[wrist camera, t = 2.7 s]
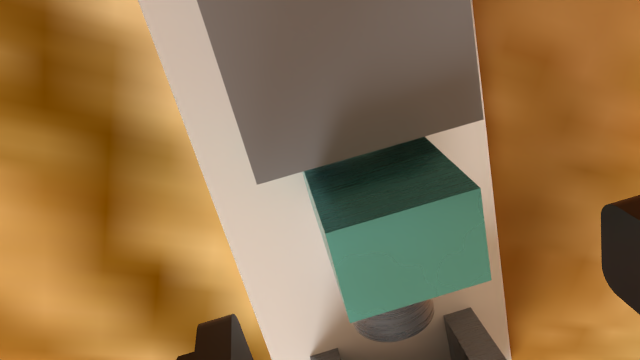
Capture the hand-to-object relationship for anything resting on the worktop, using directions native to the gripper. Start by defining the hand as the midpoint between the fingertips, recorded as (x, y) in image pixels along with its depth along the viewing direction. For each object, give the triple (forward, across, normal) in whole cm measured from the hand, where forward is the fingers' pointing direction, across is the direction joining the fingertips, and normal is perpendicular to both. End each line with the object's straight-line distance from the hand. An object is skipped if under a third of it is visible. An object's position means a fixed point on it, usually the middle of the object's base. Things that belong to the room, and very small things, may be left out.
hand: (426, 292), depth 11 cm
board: (+9, 0, +2) cm, 9 cm away
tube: (+8, 0, -2) cm, 8 cm away
